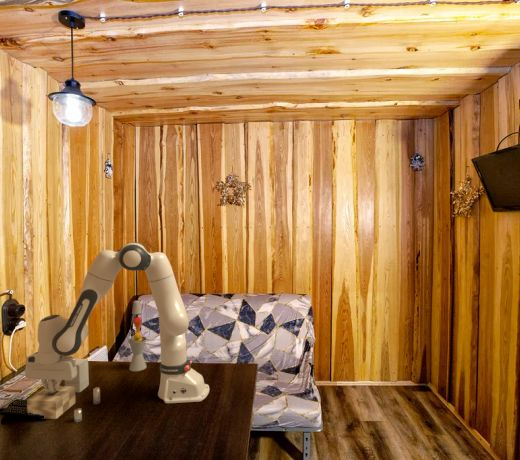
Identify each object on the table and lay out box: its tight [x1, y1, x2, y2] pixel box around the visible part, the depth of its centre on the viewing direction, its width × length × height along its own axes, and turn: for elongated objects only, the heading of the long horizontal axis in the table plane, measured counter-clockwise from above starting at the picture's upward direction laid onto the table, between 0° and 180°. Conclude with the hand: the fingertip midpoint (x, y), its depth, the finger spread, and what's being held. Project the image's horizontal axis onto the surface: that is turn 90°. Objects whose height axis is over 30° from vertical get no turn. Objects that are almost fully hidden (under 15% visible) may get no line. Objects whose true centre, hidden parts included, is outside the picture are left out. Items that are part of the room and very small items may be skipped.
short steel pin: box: [73, 407, 83, 423], centre depth 136 cm, size 3×3×4 cm
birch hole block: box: [26, 385, 76, 420], centre depth 143 cm, size 12×12×7 cm
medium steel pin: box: [92, 386, 101, 405], centre depth 149 cm, size 3×3×6 cm
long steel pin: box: [47, 380, 56, 396], centre depth 143 cm, size 3×3×12 cm
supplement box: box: [64, 358, 90, 393], centre depth 161 cm, size 7×7×13 cm
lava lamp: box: [127, 300, 147, 372], centre depth 183 cm, size 9×9×35 cm
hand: (51, 389), depth 143 cm, fingers closed on long steel pin, 3 cm apart
